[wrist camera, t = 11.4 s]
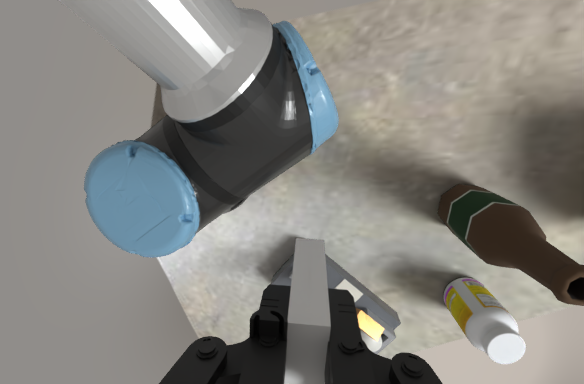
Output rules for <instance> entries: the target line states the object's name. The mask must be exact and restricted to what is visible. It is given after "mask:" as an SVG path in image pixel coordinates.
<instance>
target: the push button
mask: <svg viewBox="0 0 584 384" xmlns="http://www.w3.org/2000/svg"><path fill="white" fill-rule="evenodd" d="M360 332H361V337H362V340H363V341H364V342H365V343H366V345H367V347H368V349H369V350H371V351H372V352H376V351H378V350H379V349H380V348H381V346H382V339H381V336H380V337H379V339H378V341H376V340H374V339H372V338H371V337H369V336H368V335H367V334H366V333H364V332H363V331H362V330H361V329H360Z"/></svg>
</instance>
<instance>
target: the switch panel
mask: <svg viewBox="0 0 584 384" xmlns="http://www.w3.org/2000/svg"><path fill="white" fill-rule="evenodd" d="M325 258H326V271H327V284H328V288H331V289H343V290H348V291H349V292H350V293H351V295H352V296H353V297H354V302H355V307H356V308H358V309H360V310H362V311H363V312H364V313H365V314H367V315H368V316H369V317H370V318H372V319H373V320H374V321H375V322H377V323H378V324H379V325H380V326H382V327H383V328H384V331H383V332H382V334H381V339H382V346H381V348H380V349H379V350H378V351H376V352H374V353H375V354H378V353H379V352H380V351H381V350H383V349H384V348H385V347H386V346H387V345H388V344H389V343H391V342H392V341H393V340H394V339H395V338H396V336H395V333H394V329H395V328H396V327H397V326H399V325H400V324H401V323H400V320H399V317H398V315H397V312H396V311H394V310H393V309H392V308H391V307H389V306H388V305H387V304H386V303H385V302H383V301H382V300H381V299H380V298H378V297H377V296H376V295H375V294H374V293H372V292H371V291H370V290H369V289H367V288H366V287H365V286H364V285H362V284H361V283H360V282H359V281H358V280H356V279H355V278H354V277H353V276H351V275H350V274H349V273H348V272H347V271H345V270H344V269H343V268H342V267H340V266H339V265H338V264H337V263H335V262H334V261H333V260H332V259H331V258H329V257H328V256H327V255H326V254H325ZM293 262H294V254H293V255H292V256H291V258H290V259H289V260H288V261H287V262H286V263H285V264H284V265H283V266H282V267H281V268H280V269H279V270H278V272H277V273H276V274H275V275H274V276H273V279H272V282H271V284H272V285H285V286H291V281H292V272H293Z"/></svg>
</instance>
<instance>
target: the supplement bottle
mask: <svg viewBox="0 0 584 384" xmlns="http://www.w3.org/2000/svg"><path fill="white" fill-rule="evenodd" d="M444 302H445V304H446V306H447V308H448V309H449V311H450V312H451V314H452V316H453V317H454V319H455V320H456V322H457V323H458V325H459V326H460V328H461V329H462V331H463V332H464V334H465V335H466V337H467V338H468V339H469V341H470V342H471V344H472V345H473V346H475V347H476V348H477V349H479V350H481V351H484V352H486V353H487V355H488V356H489V357H490V358H491V359H492V360H493V361H495V362H497V363H500V364H510V363H513V362H516V361H517V360H519V359H520V358H521V357H522V356H523V355H524V352H525V349H526V347H525V342H524V340H523V339H522V338H521V337H520V335H519V334H518V325H517V323H516V321H515V319H514V318H513V317H512V316H511V314H510V313H509V312H508V311H507V310H506V309H505V308H504V307H503V306H502V305H501V304H500V303H499V302H498V301H497V299H496V298H495V297H494V296H493V295H492V294H491V293H490V292H489V291H488V290H487V289H486V288H485V287H484V286H483V285H482V284H481V283H480V282H479V281H477V280H475V279H472V278H459V279H456V280H454V281H452V282H451V283H450V284H449V285H448V286H447V287H446V289H445V291H444Z"/></svg>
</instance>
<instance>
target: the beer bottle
mask: <svg viewBox="0 0 584 384" xmlns="http://www.w3.org/2000/svg"><path fill="white" fill-rule="evenodd" d="M437 214H438V215H439V216H440V218H441V219H442V220H443V222H444V223H445V224H446V226H447V227H448V228H449V229H450V230H451V232H452V233H453V234H454V235H456V236H457V237H458V238H459V239H460V240H461V241H462V242H463V243H464V244H465V245H466V246H467V247H468V248H469V249H471V250H472V251H473V252H474V253H475V254H476V255H477V256H478V257H479V258H480V259H482V260H483V261H485V262H486V263H487V264H491V265H495V266H500V267H508V268H516V269H520V270H521V271H523V272H524V273H526V274H527V275H529V276H530V277H532V278H533V279H535V280H536V281H538V282H539V283H541V284H542V285H544V286H545V287H547V288H548V289H550V290H551V291H552V292H553V294H554V295H555V297H556V298H557V299H558V300H559V301H561V302H564V303H567V304H573V305H581V306H584V265H580V264H578V263H577V262H575V261H574V260H572V259H571V258H570V257H568V256H567V255H565V254H564V253H562V252H561V251H560V250H558V249H557V248H555V247H554V246H552V245H551V244H550V243H548V242H547V241H546V236H545V234H544V232H543V231H542V229H541V228H540V227H539V225H538V224H537V222H536V221H535V219H534V218H533V217H532V215H531V214H530V212H529V211H527V210H526V209H524V208H523V207H521V206H519V205H517V204H515V203H513V202H511V201H509V200H507V199H505V198H503V197H501V196H499V195H497V194H495V193H492V192H490V191H488V190H486V189H484V188H481V187H478V186H471V185H462V184H458V185H456V186H455V187H453V188H452V189H450V190H449V191H447V192H446V193H444V194H443V195H441V200H440V204H439V209H438V213H437Z"/></svg>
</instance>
